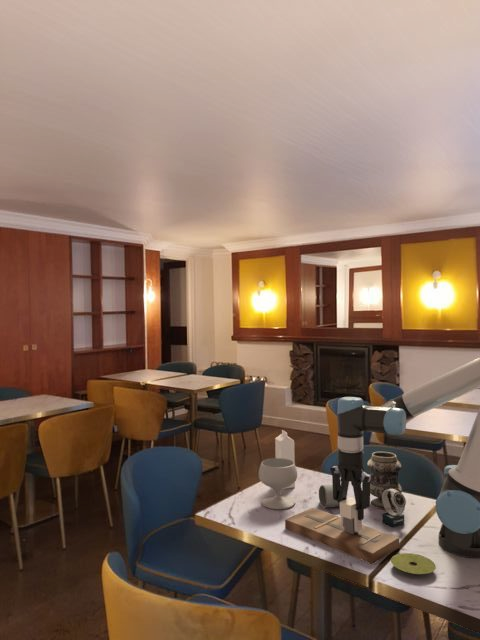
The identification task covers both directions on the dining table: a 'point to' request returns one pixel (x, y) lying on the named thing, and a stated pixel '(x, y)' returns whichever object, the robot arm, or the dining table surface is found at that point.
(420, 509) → the dining table surface
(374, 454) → the apothecary jar
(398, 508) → the watch
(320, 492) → the ceramic mug
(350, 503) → the fader knob
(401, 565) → the mat
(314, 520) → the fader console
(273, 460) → the chalice
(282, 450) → the milk
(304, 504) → the dining table surface
